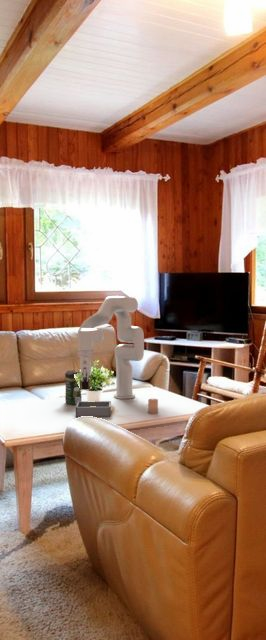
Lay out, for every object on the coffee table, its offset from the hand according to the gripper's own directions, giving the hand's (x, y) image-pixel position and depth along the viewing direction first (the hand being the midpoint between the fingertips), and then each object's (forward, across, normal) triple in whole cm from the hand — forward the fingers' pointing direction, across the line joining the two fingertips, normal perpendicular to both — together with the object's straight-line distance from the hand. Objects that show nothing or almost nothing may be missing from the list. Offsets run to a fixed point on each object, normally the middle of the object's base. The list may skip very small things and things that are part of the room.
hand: (85, 387), depth 277 cm
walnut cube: (+1, 0, 0) cm, 1 cm away
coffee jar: (+14, +24, +9) cm, 29 cm away
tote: (+14, 0, -4) cm, 14 cm away
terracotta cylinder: (+14, +2, -35) cm, 38 cm away
